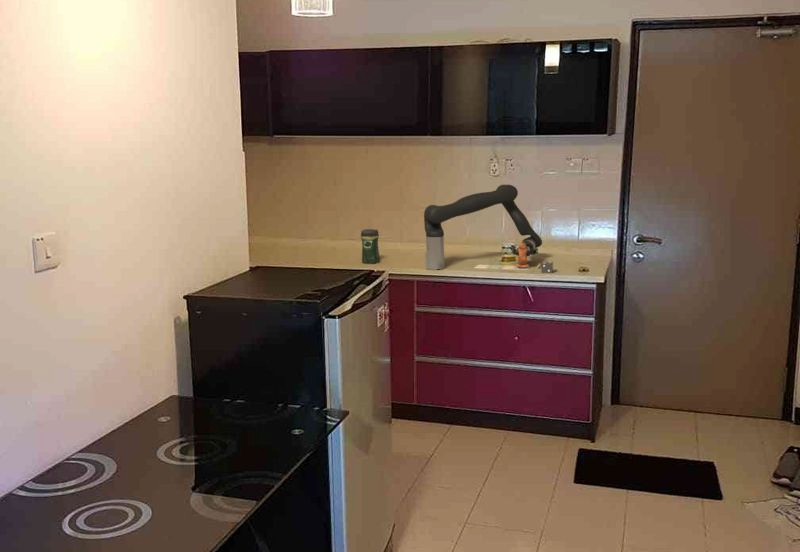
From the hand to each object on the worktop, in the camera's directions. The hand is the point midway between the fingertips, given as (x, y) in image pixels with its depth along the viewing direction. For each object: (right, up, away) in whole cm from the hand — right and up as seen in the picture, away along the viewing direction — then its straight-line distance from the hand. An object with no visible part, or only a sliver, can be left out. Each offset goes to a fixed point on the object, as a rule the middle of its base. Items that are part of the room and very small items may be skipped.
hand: (521, 253), depth 386 cm
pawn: (+1, -6, +4) cm, 8 cm away
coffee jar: (-78, -4, +38) cm, 87 cm away
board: (-9, -8, +8) cm, 14 cm away
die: (+13, -9, 0) cm, 16 cm away
